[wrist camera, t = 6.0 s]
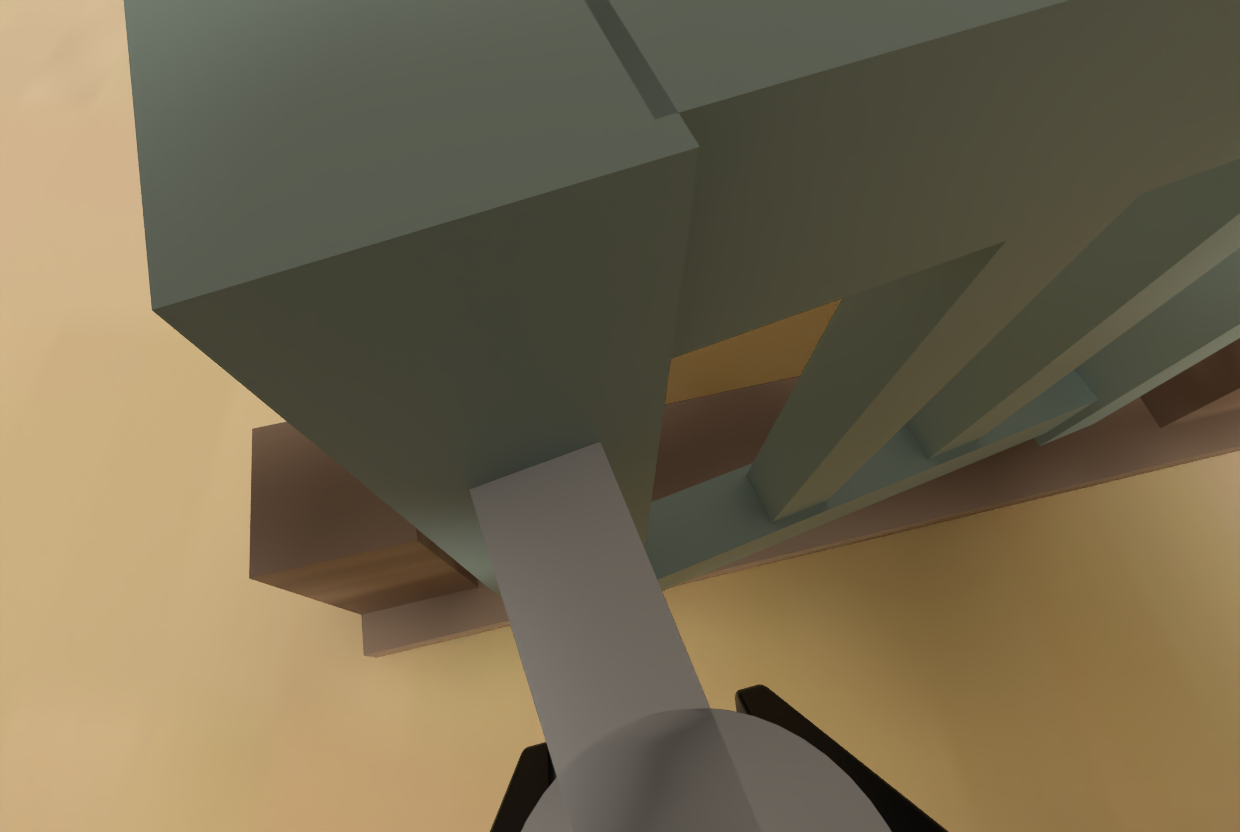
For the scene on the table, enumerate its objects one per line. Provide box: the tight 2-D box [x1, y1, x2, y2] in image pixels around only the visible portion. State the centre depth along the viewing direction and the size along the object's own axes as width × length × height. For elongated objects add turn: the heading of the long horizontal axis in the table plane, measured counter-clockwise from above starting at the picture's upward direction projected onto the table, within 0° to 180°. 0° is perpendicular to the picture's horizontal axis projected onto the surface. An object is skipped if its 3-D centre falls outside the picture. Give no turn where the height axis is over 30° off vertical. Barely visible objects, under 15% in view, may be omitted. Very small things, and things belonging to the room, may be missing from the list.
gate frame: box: [249, 338, 1240, 657], centre depth 11 cm, size 5×26×17 cm, turn 103°
